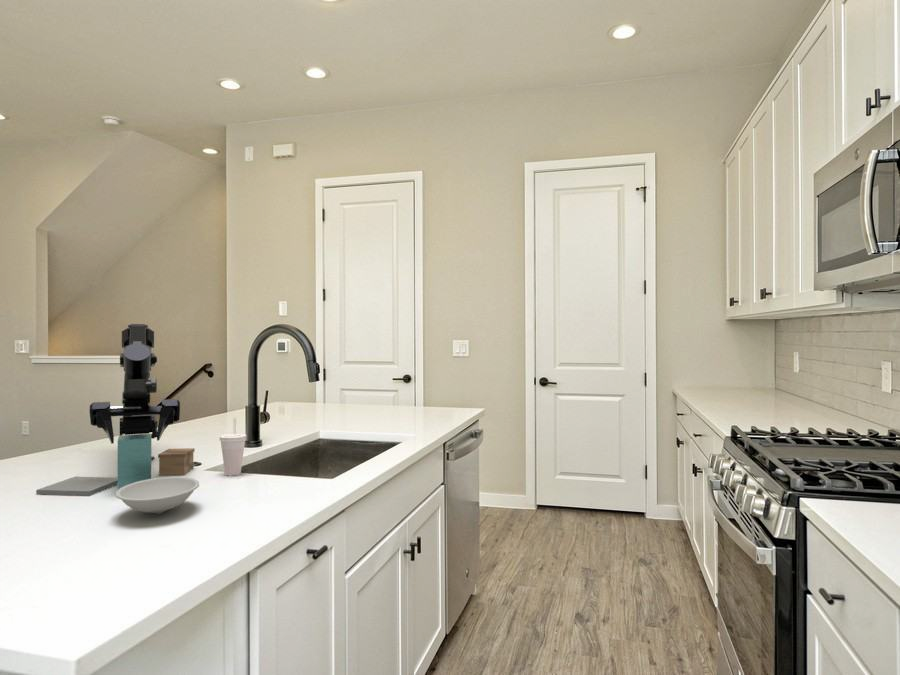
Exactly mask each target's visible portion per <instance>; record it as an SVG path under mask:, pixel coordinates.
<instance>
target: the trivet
mask: <svg viewBox="0 0 900 675" xmlns="http://www.w3.org/2000/svg"><path fill="white" fill-rule="evenodd" d="M112 486H113V487H115V486H117V477H112V476H111V477H109V476H108V477H107V476H103V477H101V476H99V477H98V476H73V477H72V476H71V477H69V478H67V479H64V480H60V481H58V482H55V483H52V484H50V485H47V486H44V487H40V488H38V489H36V491H35V493H36V494H46V495H45V496H73V495H76V496H79V495H80V496H81V497H91V496H92V495H95V493H96V494H98V493H101V492H102V490H103V491H105V490H107V488H108V489H110V488H112ZM104 489H105V490H104ZM97 492H98V493H97ZM90 495H91V496H90ZM80 496H79V497H80Z"/></svg>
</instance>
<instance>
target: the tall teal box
mask: <svg viewBox="0 0 900 675" xmlns="http://www.w3.org/2000/svg"><path fill="white" fill-rule="evenodd" d="M151 434H152V433H148V434H132V435H125V434H122V435H121V436H120V435H118V438H117V467H116V468H117V471H116V472H117V473H116V474H117V477H116V478H117V485H116V491H117V490H119V489H120V488H122V487H124V486H126V485H129V484H132V483H135V482H138V481H143V480H147V479H152V460H151V457H152V438H151Z"/></svg>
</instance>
